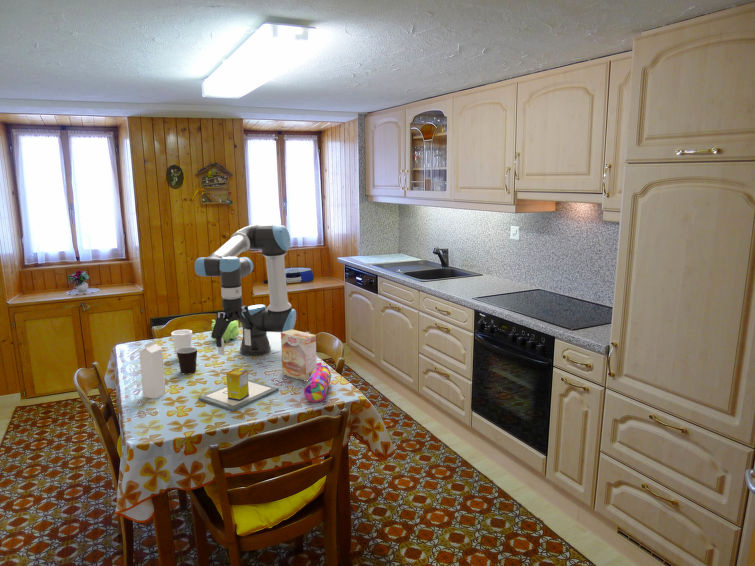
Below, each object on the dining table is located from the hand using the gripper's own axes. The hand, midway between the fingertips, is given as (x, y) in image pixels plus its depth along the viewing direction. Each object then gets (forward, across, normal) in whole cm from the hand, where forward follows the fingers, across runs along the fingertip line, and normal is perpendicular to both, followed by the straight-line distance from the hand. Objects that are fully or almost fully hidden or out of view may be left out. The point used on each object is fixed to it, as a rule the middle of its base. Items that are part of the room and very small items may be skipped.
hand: (235, 349), depth 207 cm
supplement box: (+18, -4, -4) cm, 19 cm away
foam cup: (+20, +17, +56) cm, 62 cm away
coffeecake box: (+20, +29, -7) cm, 36 cm away
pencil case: (+20, +19, -26) cm, 38 cm away
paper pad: (+19, 0, -1) cm, 19 cm away
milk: (+19, -18, +28) cm, 38 cm away
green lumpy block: (+20, +49, +64) cm, 83 cm away
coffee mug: (+20, +8, +39) cm, 45 cm away
